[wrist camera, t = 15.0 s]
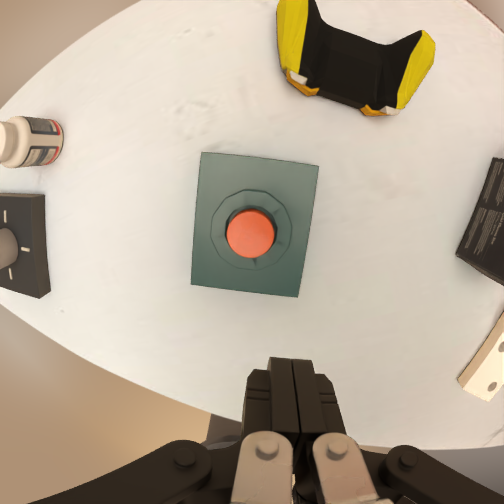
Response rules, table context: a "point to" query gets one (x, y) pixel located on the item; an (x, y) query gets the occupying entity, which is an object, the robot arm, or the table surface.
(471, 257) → the small box
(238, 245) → the button
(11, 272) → the dial panel
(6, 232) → the program dial
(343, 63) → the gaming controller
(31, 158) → the pill bottle
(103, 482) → the robot arm
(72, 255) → the table surface
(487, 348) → the bracket
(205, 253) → the button block
